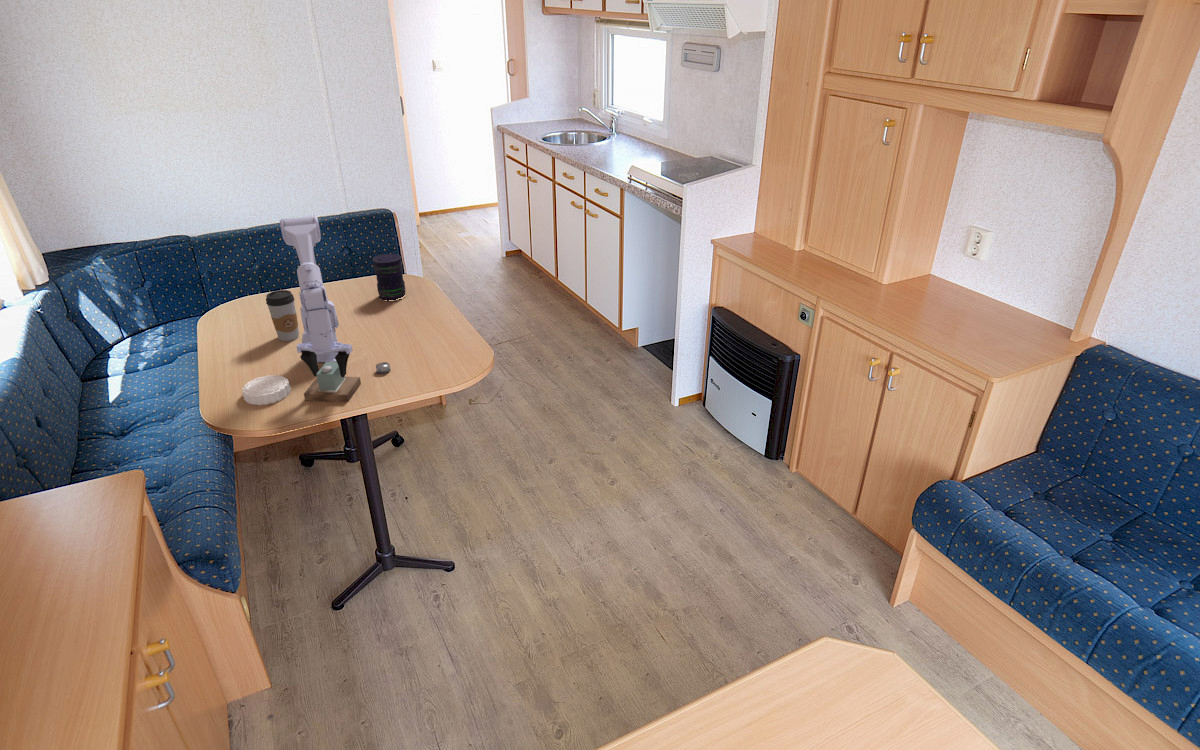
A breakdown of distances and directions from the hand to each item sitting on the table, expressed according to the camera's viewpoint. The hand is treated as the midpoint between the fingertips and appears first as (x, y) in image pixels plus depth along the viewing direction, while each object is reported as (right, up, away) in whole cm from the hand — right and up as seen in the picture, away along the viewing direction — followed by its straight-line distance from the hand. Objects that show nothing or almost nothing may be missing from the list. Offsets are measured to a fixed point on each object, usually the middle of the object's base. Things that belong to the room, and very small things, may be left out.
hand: (330, 375), depth 190 cm
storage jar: (-2, +29, +64) cm, 70 cm away
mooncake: (-18, -6, +2) cm, 19 cm away
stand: (0, -5, +3) cm, 5 cm away
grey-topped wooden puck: (+11, +1, +14) cm, 17 cm away
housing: (0, -2, +2) cm, 3 cm away
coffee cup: (-27, +12, +33) cm, 44 cm away
